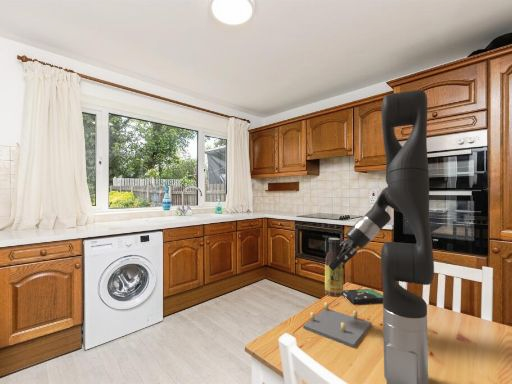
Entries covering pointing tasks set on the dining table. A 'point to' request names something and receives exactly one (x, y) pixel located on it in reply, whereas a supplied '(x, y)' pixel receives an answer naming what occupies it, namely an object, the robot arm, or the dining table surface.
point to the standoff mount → (338, 326)
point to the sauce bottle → (333, 276)
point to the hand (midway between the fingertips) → (329, 265)
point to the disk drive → (363, 296)
